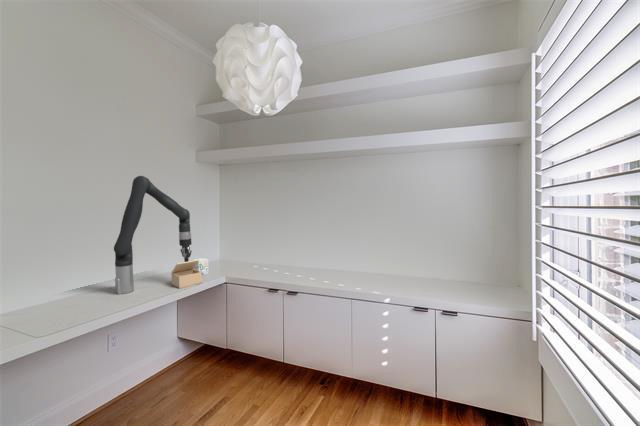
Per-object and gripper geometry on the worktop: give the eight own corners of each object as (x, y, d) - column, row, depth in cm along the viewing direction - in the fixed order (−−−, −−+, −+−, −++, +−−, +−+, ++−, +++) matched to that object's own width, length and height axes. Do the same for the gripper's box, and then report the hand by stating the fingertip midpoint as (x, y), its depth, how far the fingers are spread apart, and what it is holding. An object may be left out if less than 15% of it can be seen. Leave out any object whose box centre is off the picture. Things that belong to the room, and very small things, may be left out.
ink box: (198, 275, 223) (198, 260, 222) (192, 274, 228) (192, 259, 228) (208, 273, 230) (208, 258, 229) (202, 271, 235) (202, 257, 234)
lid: (177, 264, 193) (177, 263, 193) (171, 273, 200) (171, 272, 200) (199, 260, 203) (198, 259, 204) (193, 269, 211) (192, 268, 211)
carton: (179, 288, 192) (179, 276, 191) (172, 284, 200) (171, 273, 200) (202, 283, 202) (201, 272, 202) (193, 280, 211) (193, 269, 211)
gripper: (175, 238, 201) (177, 263, 202) (183, 239, 192) (185, 265, 193) (186, 236, 207) (188, 261, 208) (195, 238, 198) (196, 263, 199)
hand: (186, 263), depth 200 cm, fingers closed
